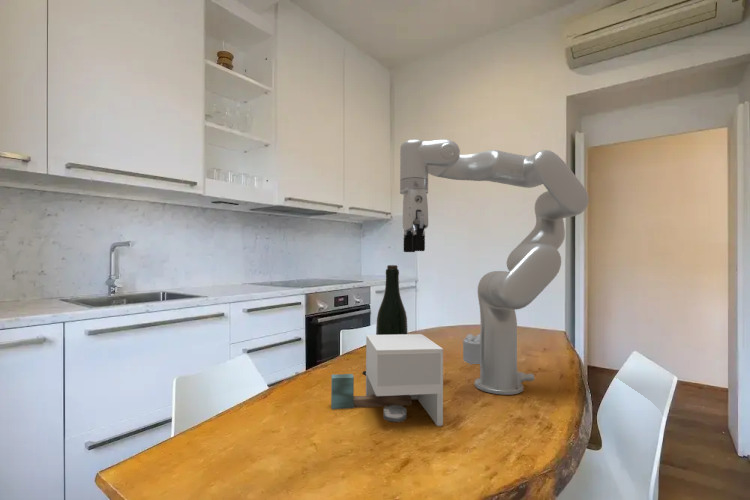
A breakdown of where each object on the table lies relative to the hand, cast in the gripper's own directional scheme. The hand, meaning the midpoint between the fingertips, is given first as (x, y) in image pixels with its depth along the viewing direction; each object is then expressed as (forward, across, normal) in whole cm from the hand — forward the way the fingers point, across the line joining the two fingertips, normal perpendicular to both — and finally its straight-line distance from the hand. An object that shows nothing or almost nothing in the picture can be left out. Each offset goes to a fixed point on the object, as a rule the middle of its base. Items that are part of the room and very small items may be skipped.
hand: (413, 251), depth 103 cm
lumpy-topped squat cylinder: (+37, +29, -31) cm, 56 cm away
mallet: (+37, -9, +12) cm, 40 cm away
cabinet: (+37, -14, +6) cm, 40 cm away
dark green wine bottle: (+37, +24, +1) cm, 44 cm away
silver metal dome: (+37, -16, +8) cm, 41 cm away
